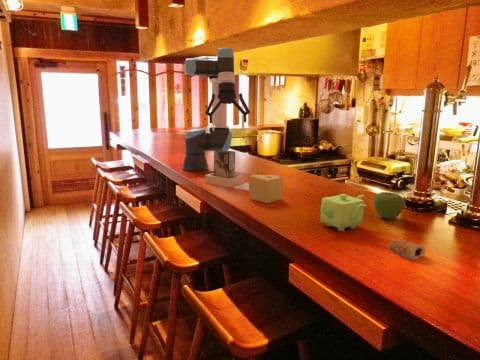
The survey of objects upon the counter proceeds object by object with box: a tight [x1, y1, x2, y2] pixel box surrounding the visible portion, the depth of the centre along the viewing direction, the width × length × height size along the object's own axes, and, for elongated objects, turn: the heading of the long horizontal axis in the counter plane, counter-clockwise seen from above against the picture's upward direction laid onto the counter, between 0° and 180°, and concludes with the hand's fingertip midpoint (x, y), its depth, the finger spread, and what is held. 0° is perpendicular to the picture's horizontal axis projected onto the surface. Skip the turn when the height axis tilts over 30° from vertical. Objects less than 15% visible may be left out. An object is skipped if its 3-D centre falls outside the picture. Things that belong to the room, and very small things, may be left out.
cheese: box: [248, 174, 284, 204], centre depth 161 cm, size 10×11×10 cm
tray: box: [204, 172, 244, 188], centre depth 189 cm, size 12×15×4 cm
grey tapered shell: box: [389, 240, 425, 261], centre depth 109 cm, size 9×7×4 cm
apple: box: [372, 191, 407, 220], centre depth 139 cm, size 11×10×10 cm
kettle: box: [319, 193, 367, 232], centre depth 129 cm, size 15×14×11 cm
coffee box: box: [213, 150, 236, 179], centre depth 188 cm, size 9×6×16 cm
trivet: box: [232, 182, 249, 192], centre depth 181 cm, size 11×11×1 cm
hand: (228, 130), depth 174 cm, fingers open, 13 cm apart
